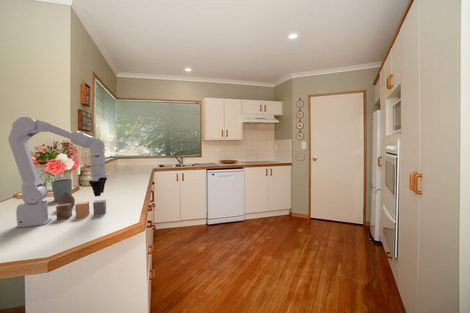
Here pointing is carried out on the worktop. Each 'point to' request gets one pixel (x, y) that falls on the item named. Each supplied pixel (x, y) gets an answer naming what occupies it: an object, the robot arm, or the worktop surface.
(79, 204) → the terracotta block
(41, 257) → the worktop surface
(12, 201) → the worktop surface
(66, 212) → the walnut block
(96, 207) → the charcoal block
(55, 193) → the teal plant pot
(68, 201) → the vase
